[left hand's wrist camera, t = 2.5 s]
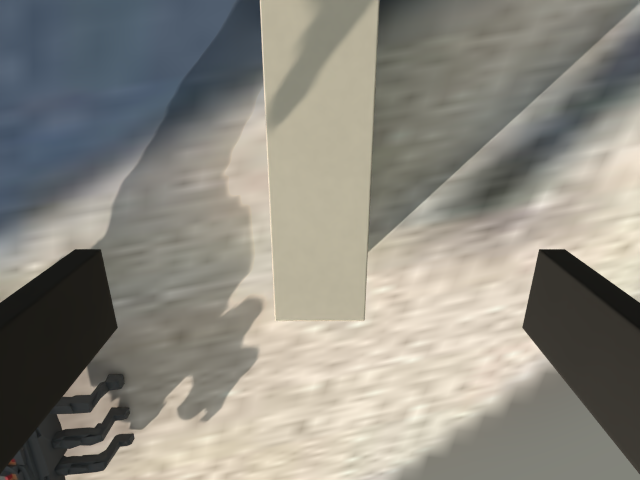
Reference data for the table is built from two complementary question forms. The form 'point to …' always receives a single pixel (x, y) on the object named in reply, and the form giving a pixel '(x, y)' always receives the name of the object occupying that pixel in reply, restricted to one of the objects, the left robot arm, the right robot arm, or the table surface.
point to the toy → (69, 440)
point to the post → (319, 152)
